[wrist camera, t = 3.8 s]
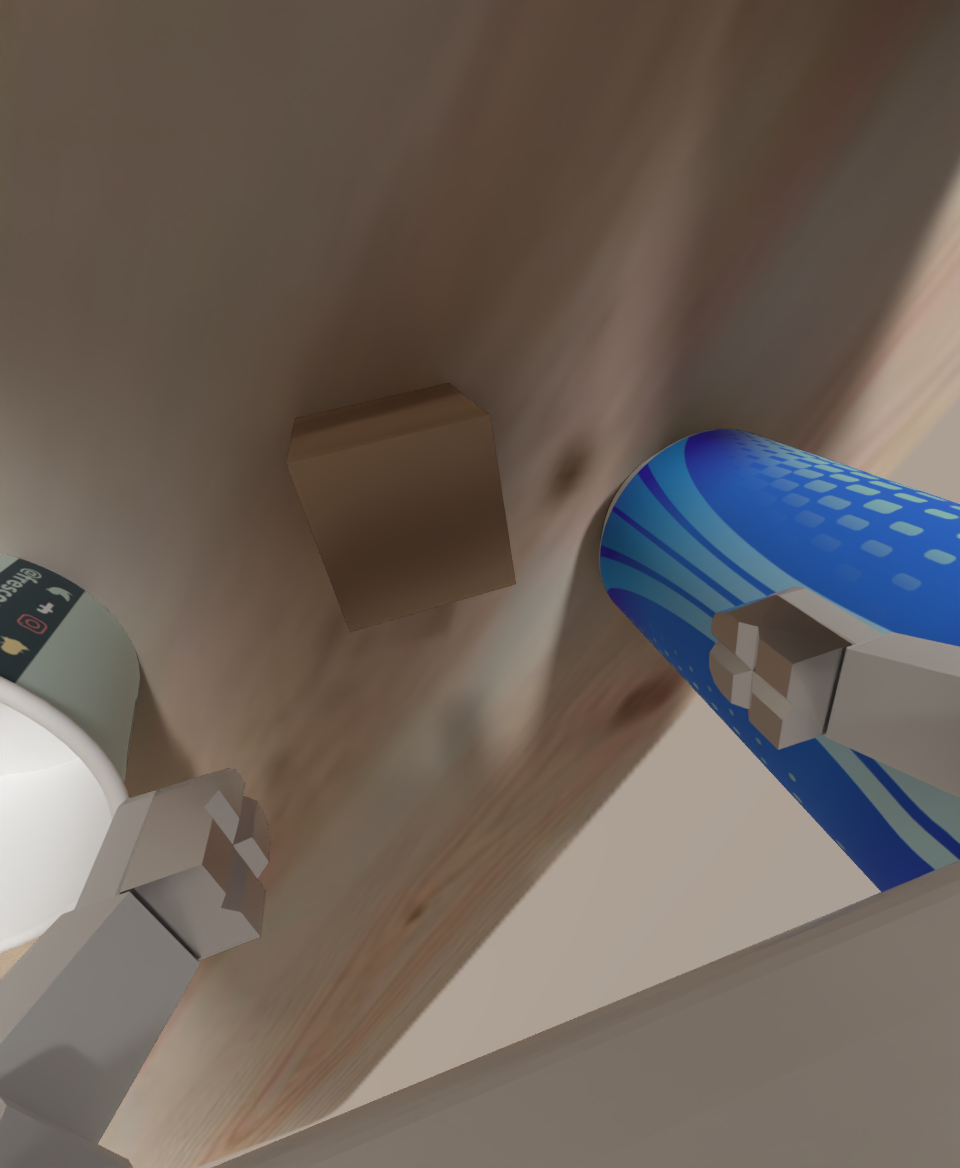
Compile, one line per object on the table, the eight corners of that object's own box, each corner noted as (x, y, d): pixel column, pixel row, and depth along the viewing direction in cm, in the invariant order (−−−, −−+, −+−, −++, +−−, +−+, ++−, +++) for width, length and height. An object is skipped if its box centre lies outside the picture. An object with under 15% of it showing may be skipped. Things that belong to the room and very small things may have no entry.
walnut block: (295, 418, 16) (285, 464, 12) (448, 382, 17) (490, 414, 13) (343, 554, 19) (350, 632, 15) (474, 519, 20) (515, 584, 15)
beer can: (551, 585, 22) (917, 1061, 8) (649, 387, 19) (1484, 646, 5) (695, 621, 25) (1122, 1003, 12) (800, 459, 22) (1546, 729, 9)
